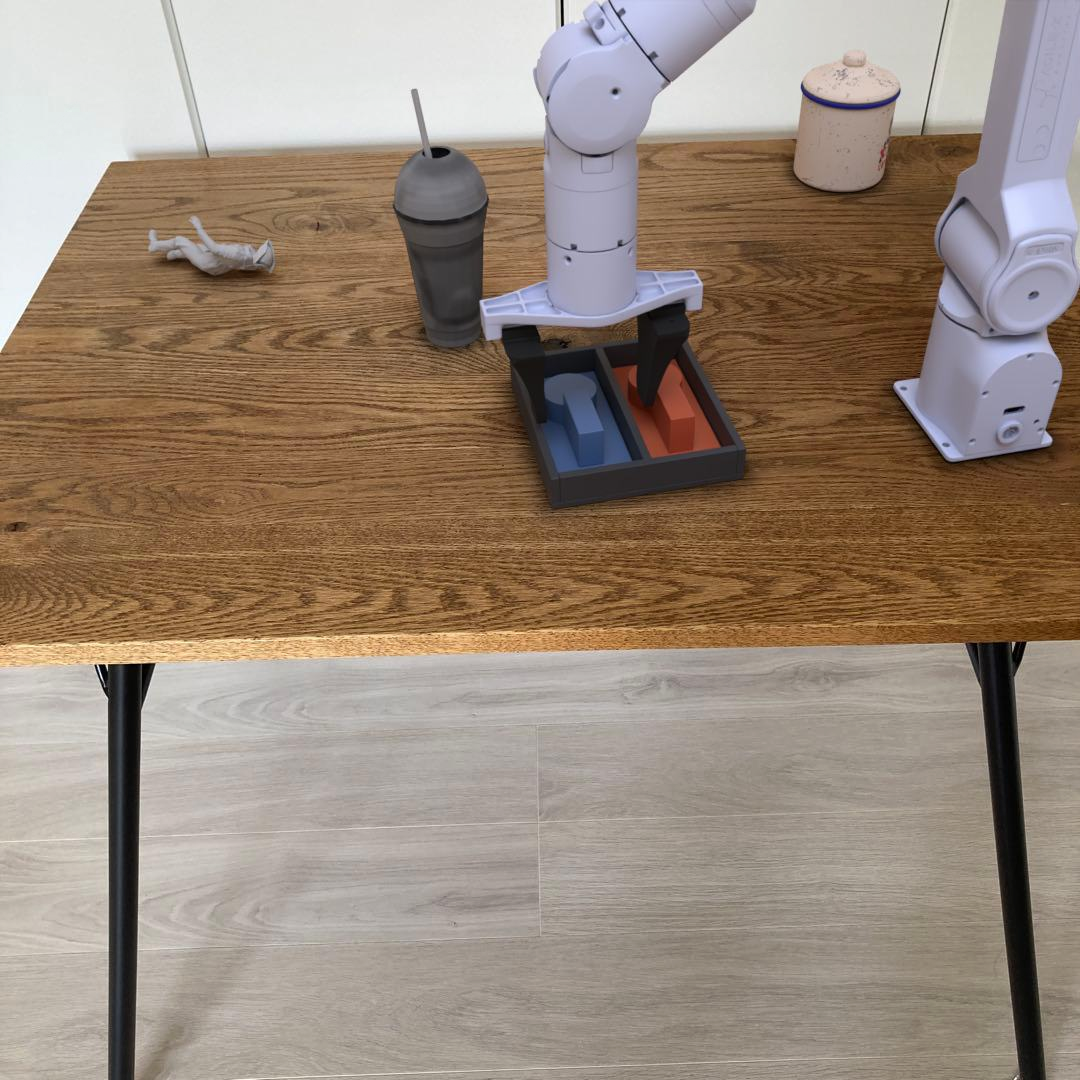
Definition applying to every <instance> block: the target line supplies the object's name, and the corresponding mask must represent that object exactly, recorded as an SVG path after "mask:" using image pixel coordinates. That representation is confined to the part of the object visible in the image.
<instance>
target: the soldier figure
mask: <svg viewBox="0 0 1080 1080" xmlns="http://www.w3.org/2000/svg"><path fill="white" fill-rule="evenodd" d="M188 221H189V222H190V223H191V224H192V225H193V228H195V230H196V231H197V232H196V235H197V236H198V237H199V239H200V240H201V241H202V243H197V244H195V243H194V242H193V241H191V240H190V239H189V238H187V237H185V236H182V235H177V236H175V238H174V237H173V238H169V239H165V240H158V232H157V231H156V229H150V231H149V233H148V239H149V241H150V242H149V243H150V244H148V252H149V253H150V254H154V253H156V252H158V251H159V252H167V254H166V259H167V260H168V261H174V260H177V259H187V260H189V262H190V263H191V264H192V265H193V266H194V267H196V268H198V269H199V270H200V271H202V272H205V273H208V274H210V275H211V276H219V275H220V276H221V275H224V274H226V273H228V272H230V271H231V270H233V269H234V270H236V271H239V270H241V271H242V270H243V271H256V270H257V269H260V270H262V269H265V270H267V272H268V274H272V272H273V270H274V268H275V265H276V257H275V249H274V246H273V243H272V241H271V238H267V239H266V241H265V242H264V243H263V244H262V245H257V246H254V247H253V246H252V245H251V244H248V243H246V244H243V245H240V244H238V243H231V244H227V243H226V242H225V243H224V242H223V243H216V242H215V241H214V240H213V239H212V238H211V237H210V236H209V234H208V233H207V232H206V231H205V230H204V228H203V225H202V223H201V220H200V219H199V218H198V216H197V215H191V216H190V217H189V219H188ZM255 248H258V250H256V249H255Z"/></svg>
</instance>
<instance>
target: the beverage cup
mask: <svg viewBox="0 0 1080 1080" xmlns="http://www.w3.org/2000/svg"><path fill="white" fill-rule="evenodd" d="M410 94H411V99H412V103H413V107H414V111H415V116H416V121H417V126H418V131H419V136H420V140H421V144H422V149H420V150H418V151H416V152H414V153H413V154H412V155H411V156H410V157H408V159H407V160H405V162H404V163H403V165H402V166H401V168H400V170H399V172H398V175H397V178H396V182H395V185H394V190H393V203H392V209H393V211H394V214H395V215H396V219H397V221H398V225H399V228H400V230H401V233H402V236H403V237H404V243H405V248H406V251H407V256H408V260H409V265H410V269H411V274H412V275H411V276H412V280H413V285H414V288H415V294H416V298H417V304H418V307H419V312H420V317H421V320H422V323H423V327H424V329H425V337H426V338H427V340H428V341H429V342H430V343H431V344H433V345H436V346H438V347H441V348H460V347H465V346H467V345H470V344H472V343H473V342H475V341H476V340H477V339H478V338H479V337H480V336H481V333H482V326H481V314H480V302H479V301H480V300H483V295H484V293H483V292H484V291H483V290H484V289H483V288H484V240H485V239H484V235H485V228H486V221H487V213H488V207H489V203H490V197H489V193H488V192H487V187H486V184H485V180H484V178H483V176H482V174H481V172H480V170H479V168H478V166H477V165H476V164H475V162H474V161H473V160H472V159H471V158H470V157H468V155H466V154H464V152H462V151H460V150H459V149H456V148H454V147H451V146H447V145H432V146H430V140H429V136H428V131H427V127H426V123H425V118H424V113H423V109H422V104H421V100H420V96H419V95H420V94H419V91H418V88H411V89H410Z"/></svg>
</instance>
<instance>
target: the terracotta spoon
mask: <svg viewBox="0 0 1080 1080" xmlns="http://www.w3.org/2000/svg"><path fill="white" fill-rule="evenodd" d="M636 373H637V365H636V366H634V367H633V368H632V369H631V370H630V372H629V374H628V399H629V401H630V403H631V404H632V405H634V406H635V407H637V408H639V409H641V410H645V411H650V414H651V416H652V418H653V420H654V422H655V424H656V426H657V429H658V431H659V433H660V435H661V437H662V439H663V441H664V444H665V446H666V448H667V450H668V452H669V453H675V452H681V451H687V450H693V444H694V430H695V414H694V412H693V410H692V408H691V406H690V404H689V402H688V400H687V398H686V397H685V395H684V393H683V391H682V374H681V372H680V370H679V369H678V368H677V367H675V366H673V365H671V364H669V366H668V368H667V370H666V372H665V374H664V376H663V378H662V381H661V384H660V386H659V389H658V392H657V395H656V398H655V402H654V405H653V406H651V407H644V405H643V403H642V401H641V399H640V397H639V395H638V392H637V384H636Z"/></svg>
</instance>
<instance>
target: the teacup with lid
mask: <svg viewBox="0 0 1080 1080" xmlns="http://www.w3.org/2000/svg"><path fill="white" fill-rule="evenodd" d="M800 91H801V93H802V94H801V102H800V110H799V117H798V118H799V120H798V127H797V135H796V144H795V152H794V161H793V173H794V174H795V176H796V177H797V178H798V179H799V181H801V182H802V183H804V184H805V185H807V186H810V187H812V188H814V189H818V190H821V191H827V192H833V193H852V192H859V191H863V190H867V189H869V188H871V187H874V186H875V185H876V184H878V183H879V182H880V181H881V180H882V178H883V176H884V174H885V169H886V162H887V156H888V150H889V145H890V138H891V134H892V127H893V121H894V117H895V111H896V105H897V100H898V98H899V97H900V95H901V92H902V88H901V83H900V81H899V79H898V77H897V76H896V75H895V74H894V73H893V72H892V71H890V70H888V69H886V68H884V67H881V66H879V65H878V66H877V65H876V64H874V63H872V62H870V61H868V60H867V55H866V53H865V52H864V51H863V50H860V49H850V50H847V51H845V53H844V54H843V58H842V59H838V60H836V61H834V62H831V63H825V64H822V65H818V66H816V67H814V68H812V69H810V70H809V71H807V73H806V74H805V75H804V77H803V79H802V81H801V83H800Z"/></svg>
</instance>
